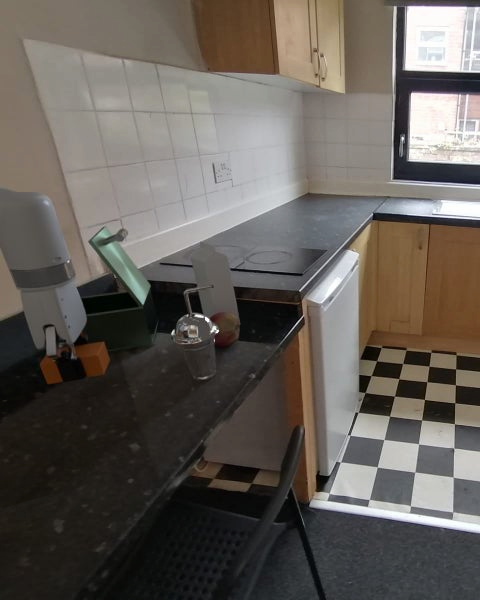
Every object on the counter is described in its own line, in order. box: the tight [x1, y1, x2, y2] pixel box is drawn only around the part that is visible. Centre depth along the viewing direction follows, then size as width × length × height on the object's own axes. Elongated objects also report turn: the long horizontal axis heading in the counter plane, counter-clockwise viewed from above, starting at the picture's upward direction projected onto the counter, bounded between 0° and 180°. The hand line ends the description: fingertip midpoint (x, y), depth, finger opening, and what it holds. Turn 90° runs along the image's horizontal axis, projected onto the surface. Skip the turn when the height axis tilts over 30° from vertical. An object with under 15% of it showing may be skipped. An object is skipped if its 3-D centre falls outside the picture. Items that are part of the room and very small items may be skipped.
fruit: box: [209, 312, 241, 348], centre depth 93 cm, size 8×8×8 cm
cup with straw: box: [170, 285, 219, 382], centre depth 79 cm, size 8×9×20 cm
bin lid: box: [87, 225, 152, 307], centre depth 91 cm, size 17×13×5 cm
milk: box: [190, 241, 241, 326], centre depth 99 cm, size 6×6×22 cm
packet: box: [39, 342, 111, 385], centre depth 70 cm, size 8×5×4 cm, turn 113°
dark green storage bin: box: [63, 288, 160, 355], centre depth 94 cm, size 16×13×10 cm
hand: (79, 369), depth 71 cm, fingers closed on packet, 5 cm apart
